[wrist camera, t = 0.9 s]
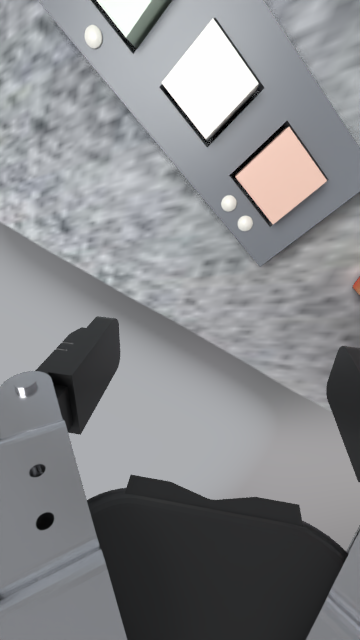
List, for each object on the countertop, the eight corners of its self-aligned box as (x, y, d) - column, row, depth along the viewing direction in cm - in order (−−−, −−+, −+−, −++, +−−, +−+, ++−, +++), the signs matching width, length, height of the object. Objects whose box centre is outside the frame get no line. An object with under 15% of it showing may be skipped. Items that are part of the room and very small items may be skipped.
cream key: (215, 32, 25) (213, 18, 22) (256, 90, 26) (258, 83, 23) (168, 89, 27) (161, 82, 24) (208, 140, 28) (205, 139, 25)
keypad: (143, -162, 22) (129, -208, 19) (365, 175, 29) (379, 177, 26) (49, 6, 27) (28, -11, 24) (258, 258, 34) (260, 267, 31)
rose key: (284, 129, 27) (289, 126, 24) (318, 178, 28) (327, 180, 25) (235, 174, 29) (235, 176, 26) (269, 218, 30) (273, 224, 28)
